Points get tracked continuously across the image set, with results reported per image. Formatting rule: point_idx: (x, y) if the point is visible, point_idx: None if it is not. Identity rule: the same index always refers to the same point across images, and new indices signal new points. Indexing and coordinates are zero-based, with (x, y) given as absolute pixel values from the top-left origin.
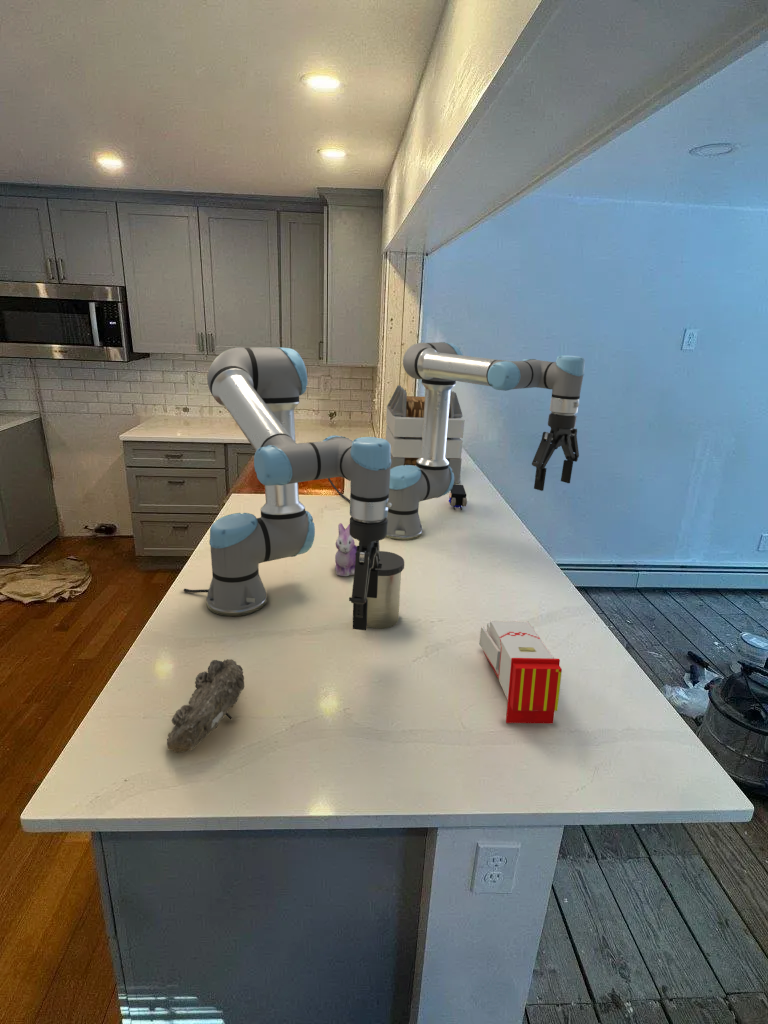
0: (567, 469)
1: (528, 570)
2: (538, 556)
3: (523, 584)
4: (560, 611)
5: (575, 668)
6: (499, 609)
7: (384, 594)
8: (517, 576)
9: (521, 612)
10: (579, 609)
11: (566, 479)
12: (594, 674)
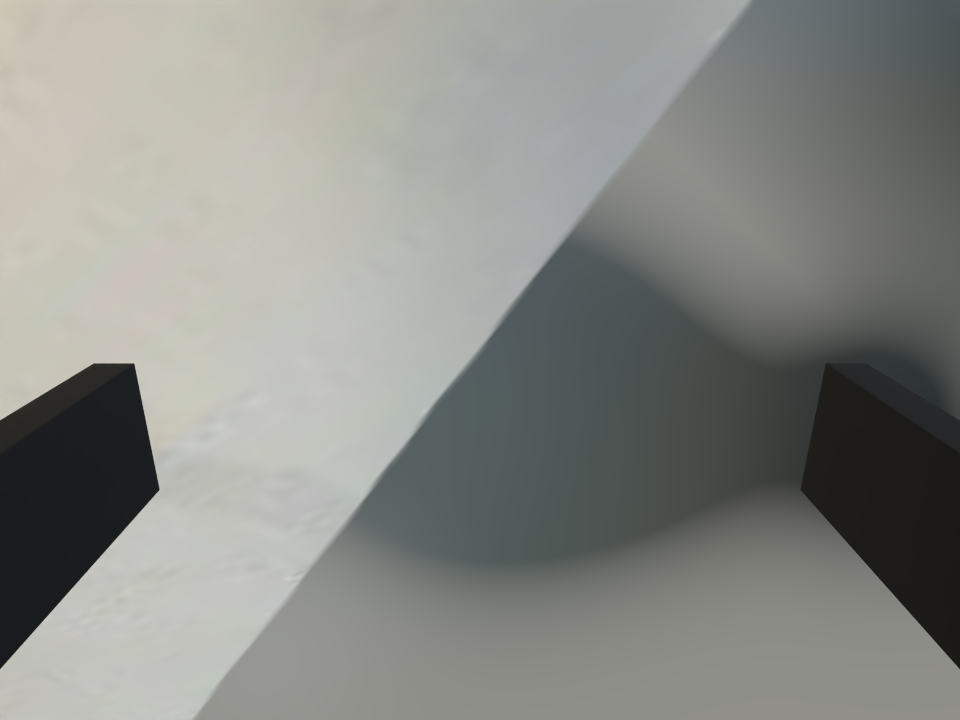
0: (953, 584)
1: (454, 174)
2: (659, 92)
3: (306, 257)
4: (256, 479)
5: (31, 663)
6: (41, 336)
7: None
8: (348, 184)
9: None
10: (333, 509)
11: (832, 478)
12: (60, 700)
